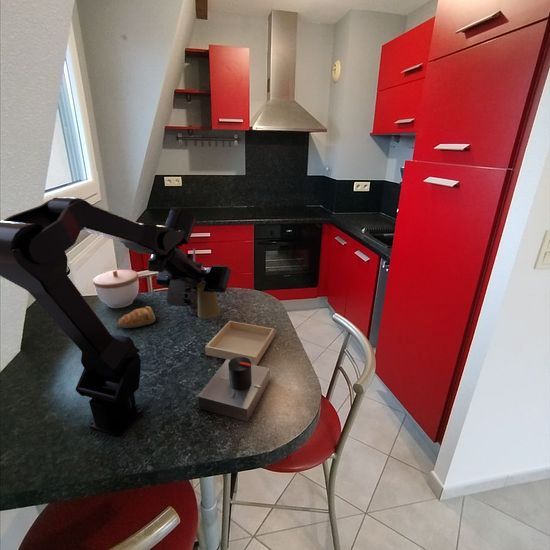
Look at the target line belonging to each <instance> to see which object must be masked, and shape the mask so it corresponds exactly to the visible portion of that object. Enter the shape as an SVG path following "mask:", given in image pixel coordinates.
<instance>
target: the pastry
mask: <svg viewBox="0 0 550 550" xmlns="http://www.w3.org/2000/svg"><path fill="white" fill-rule="evenodd" d="M153 311H154V310H153V309H152V307H151V306H148V305H146V306H145V307H139V308H135V309H133V310H132V311H130V312H129V313H126V314H124V315H123V316H121V317H120V318H118V322H117V324H118V327H120V328H122V329H132V328H139V327H143V326H146V325H152V324H153V323H154V322H156V316H155V313H154V312H153Z"/></svg>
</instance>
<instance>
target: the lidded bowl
mask: <svg viewBox="0 0 550 550" xmlns="http://www.w3.org/2000/svg"><path fill="white" fill-rule="evenodd" d="M92 283H93V285H94V290H95V293H96V295H97V297H98V299H99V300H100V302H101V303H103V304H105V305H106V306H108V307H109V308H112V309H123V308H126V307H128V306H130V305H132V304H133V303H134V300H136V298H137V296H138V294H139V290H140V282H139V274H138V271H135V270H133V269H114V270H108V271H105V272H102V273H100V274H98V275H96V276H94V277H93V279H92Z"/></svg>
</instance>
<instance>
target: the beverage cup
mask: <svg viewBox="0 0 550 550" xmlns="http://www.w3.org/2000/svg"><path fill="white" fill-rule="evenodd" d="M192 255H193V256H194V257H193V261H194V262H196V248H192ZM201 270H206V269H205V267H204V266H203V265H202V267H201ZM187 308H188V310H189V314H190V315H191V316H192V315H193V316H198V296H197V302H196V303H192V306H187Z"/></svg>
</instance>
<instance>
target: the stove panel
mask: <svg viewBox="0 0 550 550" xmlns="http://www.w3.org/2000/svg"><path fill="white" fill-rule="evenodd" d="M229 361H230V360H228V359H225V361H224V363H223V364H222V365H221V366H220V367H219V369H218V370H217V371H216V372H215V374H214V375H213V376H212V378H211V379H210V380H209V382H208V383H207V384H206V385H205V387H204V388H203V390H201V392H200V393H199V394H198V397H197V398H198V408H199V409H200V410H203V411H207V412H211V413H214V414H218V415H221V416H225V417H228V418H232V419H236V420H238V421H239V420H240V421H243V422H249V421H250V418H252V417H251V416H252V415H253V413H254V411H255V409H256V407H257V406H258V403H259V401H260V399H261V397H262V395H263V394H264V392H265V390H266V388H267V386H268V385H269V382H270V380H271V379H270V377H271V370H270V368H268V367H265V366H261V365H251V372H252V383H251V385H250V386H249V387H248V388H247V389H244V390H235V389H233V388H232V387H231V386H230V384H229V369H228V363H229Z"/></svg>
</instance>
